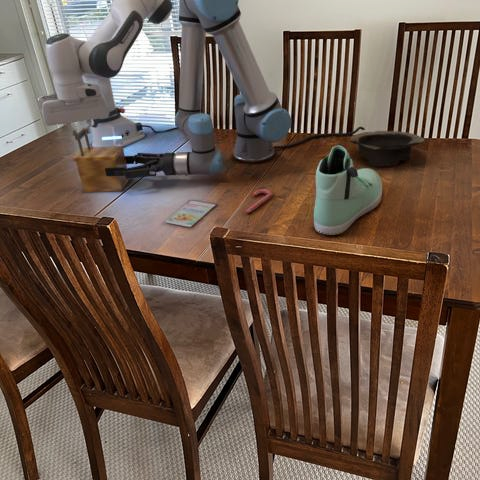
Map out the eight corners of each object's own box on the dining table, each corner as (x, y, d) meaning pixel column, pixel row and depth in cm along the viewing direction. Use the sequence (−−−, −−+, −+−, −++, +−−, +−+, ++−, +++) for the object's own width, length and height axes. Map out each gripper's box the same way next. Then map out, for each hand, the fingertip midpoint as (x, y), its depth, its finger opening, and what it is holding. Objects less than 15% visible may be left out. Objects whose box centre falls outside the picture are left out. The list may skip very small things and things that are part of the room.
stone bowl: (382, 177, 154) (383, 149, 150) (334, 159, 175) (334, 134, 170) (439, 158, 163) (441, 131, 159) (387, 143, 183) (387, 119, 179)
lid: (73, 161, 156) (66, 136, 152) (83, 151, 164) (77, 126, 160) (115, 159, 155) (109, 134, 150) (123, 149, 163) (118, 124, 158)
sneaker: (389, 187, 148) (396, 123, 138) (356, 242, 123) (361, 168, 112) (346, 181, 154) (350, 119, 144) (306, 232, 129) (307, 161, 118)
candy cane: (232, 210, 143) (232, 206, 142) (259, 190, 153) (259, 186, 152) (249, 215, 140) (248, 210, 139) (276, 194, 150) (275, 190, 149)
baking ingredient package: (164, 221, 138) (191, 199, 150) (164, 222, 139) (191, 201, 150) (190, 226, 135) (215, 203, 146) (190, 227, 135) (215, 205, 147)
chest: (83, 192, 162) (75, 161, 156) (93, 180, 170) (85, 151, 164) (122, 190, 160) (115, 160, 155) (129, 179, 168) (123, 149, 163)
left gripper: (35, 98, 144) (47, 142, 151) (104, 89, 148) (113, 132, 155) (36, 93, 149) (49, 136, 157) (103, 84, 153) (112, 126, 161)
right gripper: (171, 188, 151) (102, 190, 154) (183, 161, 170) (122, 163, 172) (167, 166, 147) (97, 168, 150) (180, 141, 166) (118, 143, 168)
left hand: (81, 134), depth 156 cm, fingers closed on lid, 3 cm apart
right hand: (110, 166), depth 161 cm, fingers closed on chest, 9 cm apart
